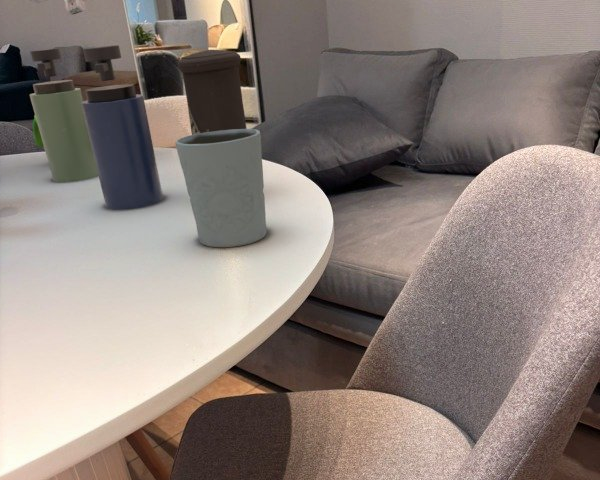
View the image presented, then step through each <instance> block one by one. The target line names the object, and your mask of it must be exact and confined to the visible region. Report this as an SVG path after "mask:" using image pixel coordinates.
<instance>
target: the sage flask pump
mask: <svg viewBox="0 0 600 480" xmlns="http://www.w3.org/2000/svg"><path fill="white" fill-rule="evenodd" d="M29 54H30V58H31V61H32V62H33V63H35V62H40V63H37V64H36V65H37V69H38V71H43V72H44V76H45V77H46V78H50V77H57V76H58V74H57V69H56V66H55V62H54V60H60V59H62V54H61V50H60V48H58V47H56V48H47V49H46V48H45V49H36V50H30V51H29Z"/></svg>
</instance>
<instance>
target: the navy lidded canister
mask: <svg viewBox="0 0 600 480" xmlns="http://www.w3.org/2000/svg"><path fill="white" fill-rule="evenodd" d="M84 92H85V95H86V100H83V102H81V105H82V109H83V114H84V118H85V122H86V126H87V130H88V134H89V138H90V142H91V147H92V151H93V155H94V159H95V163H96V167H97V171H98V179H99V183H100V187H101V191H102V197H103V200H104V204H105V207H106V209H109V210H114V211H115V210H116V211H125V210H135V209H136V210H137V209H141V208H145V207H149V206H152V205H156V204H158V203H160V202H162V201H163V199H164V196H163V191H162V187H161V186H162V185H161V180H160V175H159V169H158V165H157V159H156V154H155V149H154V143H153V139H152V134H151V129H150V123H149V118H148V114H147V107H146V103H145V97H144V95H143V94H139V93H138V94H137V92H136V87H135V85H134V83H133V84H132V83H127V84H126V83H125V84H115V85H113V84H112V85H106V86H105V85H104V86H98V87H92V88H88V89H85V90H84Z"/></svg>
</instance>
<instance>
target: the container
mask: <svg viewBox="0 0 600 480" xmlns="http://www.w3.org/2000/svg"><path fill="white" fill-rule="evenodd" d="M241 58H242V57H241V55H240V54H239V53H238V52H236V51H235V50H219V49H218V50H215V49H206V50H203V51H199V52H195V53H191V54H187V55H184V56H181V58H180V59H179V60H178V61H177V62H178V63H177V66H178V69H179V70H180V72H181V73H182V76H183V77H182V78H183V83H184V91H185V96H186V104H187V110H188V119H189V125H190V133H191V135H194V134H200V133H205V132H213V131H220V130H232V129H247V122H246V115H245V109H244V102H243V94H242V93H243V92H242V85H241V84H242V83H241V77H240V69H239V67H240V64H241V61H242V59H241Z"/></svg>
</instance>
